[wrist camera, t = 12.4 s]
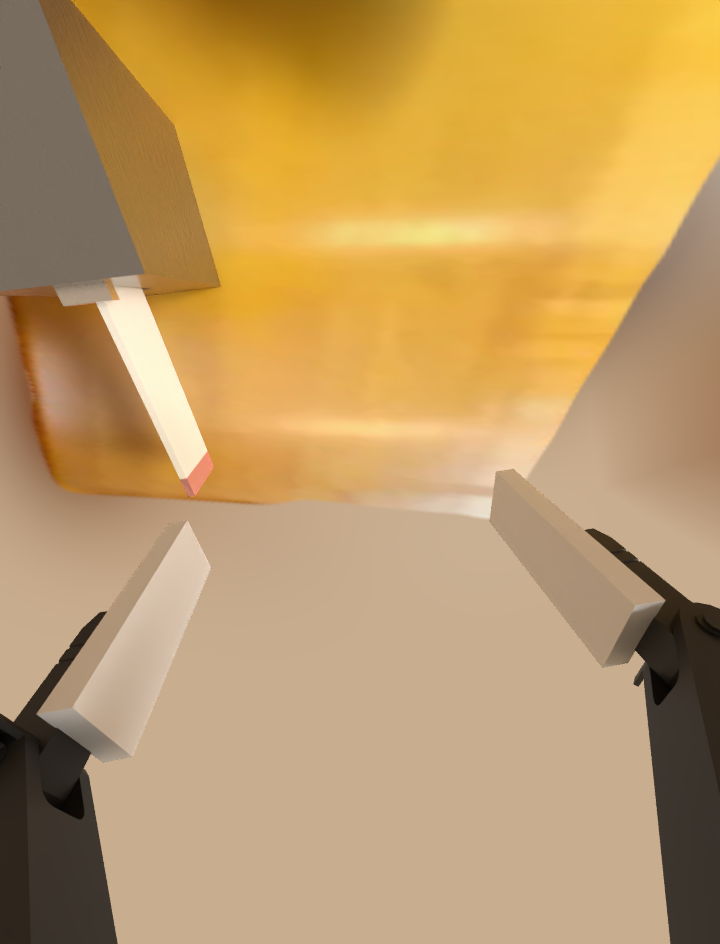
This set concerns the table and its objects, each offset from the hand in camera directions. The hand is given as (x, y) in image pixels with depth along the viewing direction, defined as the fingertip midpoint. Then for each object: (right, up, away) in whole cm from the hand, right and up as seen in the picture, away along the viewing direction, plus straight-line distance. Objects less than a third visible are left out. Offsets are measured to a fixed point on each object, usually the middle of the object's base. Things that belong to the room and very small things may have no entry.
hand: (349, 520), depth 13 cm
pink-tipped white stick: (-18, +10, +17) cm, 27 cm away
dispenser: (-20, +26, +16) cm, 37 cm away
